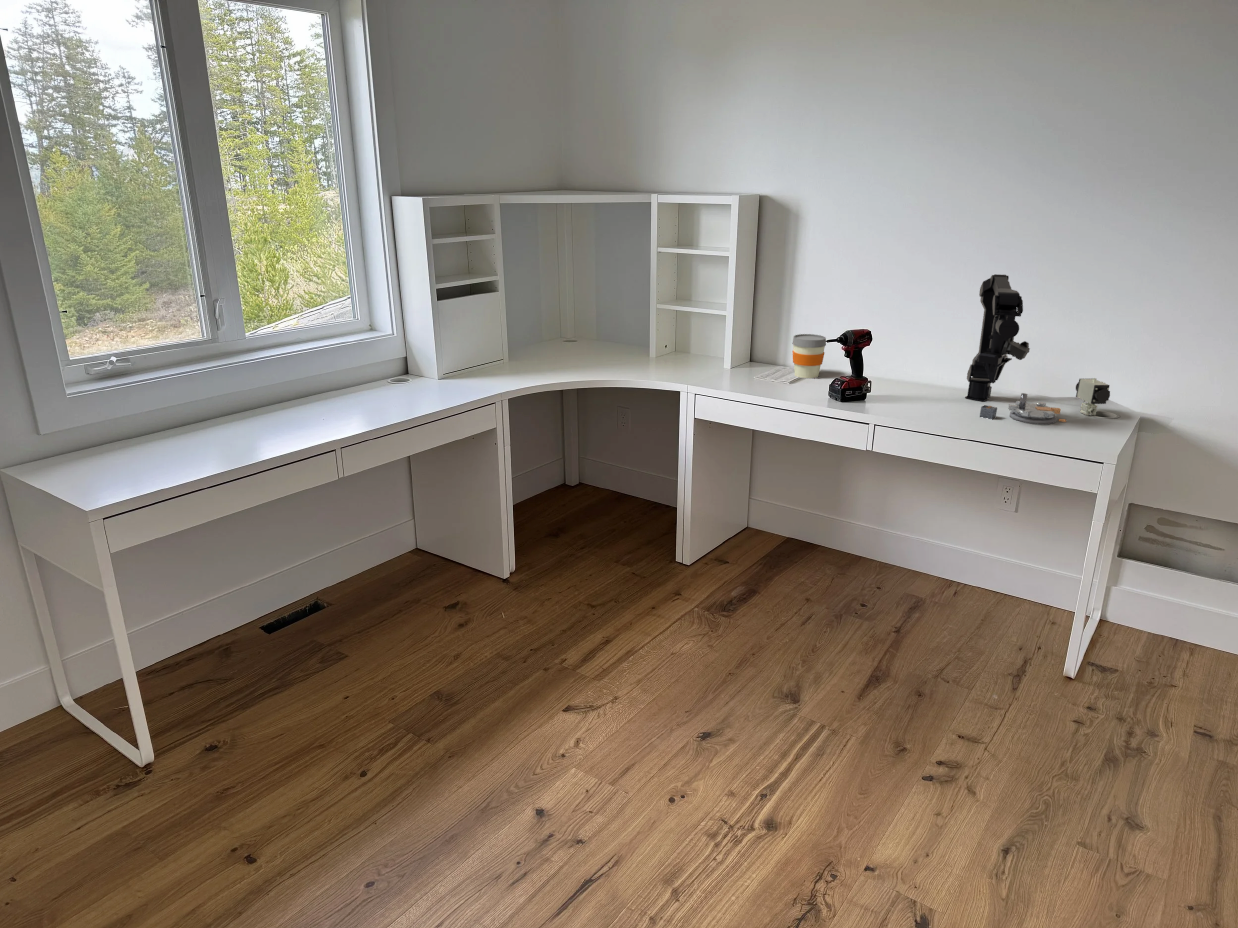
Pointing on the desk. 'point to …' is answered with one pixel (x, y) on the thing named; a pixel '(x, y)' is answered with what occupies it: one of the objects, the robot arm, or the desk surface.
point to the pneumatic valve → (1092, 394)
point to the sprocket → (1033, 409)
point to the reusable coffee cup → (808, 354)
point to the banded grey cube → (988, 412)
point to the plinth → (1034, 421)
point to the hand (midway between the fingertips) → (993, 381)
